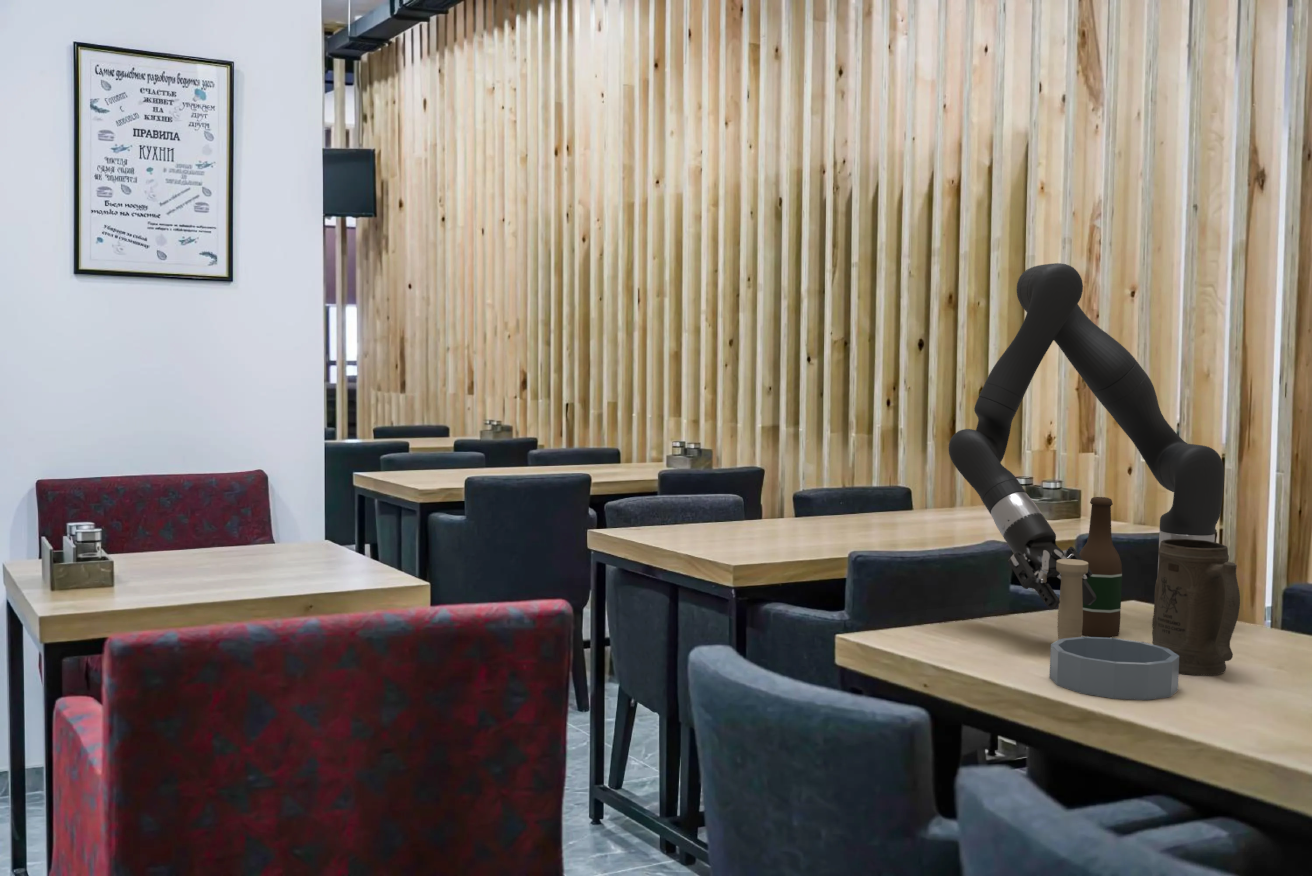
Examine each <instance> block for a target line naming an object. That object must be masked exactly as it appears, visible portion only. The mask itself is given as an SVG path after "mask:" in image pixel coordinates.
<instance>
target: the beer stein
mask: <svg viewBox="0 0 1312 876" xmlns="http://www.w3.org/2000/svg"><path fill="white" fill-rule="evenodd" d="M1157 553H1158V557H1159V568H1158V567H1157V577H1156V580H1155V586H1154V602H1153V603H1154V606H1153V615H1152V620H1151V621H1152V622H1151V624H1152V633H1151V636H1152V642H1151V644H1153V645H1157V646H1160V647H1164V648H1168V649H1170V650H1171V651H1173V652H1174V653H1176V654H1177V655H1179V674H1182V675H1188V676H1190V675H1191V676H1216V675H1221V674H1223V673H1225V672H1226V671H1227V665H1226V662H1229V661H1231V660H1232V659H1233V655H1234V654H1233V651H1232V648H1231V640H1232V637H1233V634H1234V631H1235V629H1236V625H1237V623H1238V618H1239V614H1240V606H1241V595H1240V587H1239V583H1238V578H1237V564H1236V563H1235V562H1232V561H1229V560H1230V556H1229V550H1228V546H1227V545H1224V544H1223V543H1219V542H1210V541H1205V540H1192V539H1167V540H1163V541H1161V543H1160V548H1159V547H1158V552H1157Z"/></svg>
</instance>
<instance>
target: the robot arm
mask: <svg viewBox="0 0 1312 876" xmlns="http://www.w3.org/2000/svg"><path fill="white" fill-rule="evenodd" d="M1083 288H1084V284H1083V280H1082V277H1081V275H1080V272H1078V270H1077V269H1076V268H1074V267H1073V266H1071V265H1070V264H1067V263H1059V262H1057V263H1047V264H1038V265H1035V266H1032V267H1030V268H1028V269H1026V270H1025V271H1023V272H1022V274H1021V275H1020V276H1019V278H1018V281H1017V283H1016V295H1017V299H1018V302H1019V304H1020V306H1021V308H1022V309H1023V310H1024V311H1025V312H1026V315H1025V317H1024V320H1023V322H1022V324H1021V326H1020V327H1019V329H1018V332H1017V333H1016V335H1015V337H1014V339H1013V340H1012V341H1011V343H1010V344H1009V345H1008V347H1007V348H1006V350H1005V351H1004V352H1003V353H1002V355H1001V356H1000V357H999V358H998V360H997V362H996V363H995V364H994V366H993V368H992V369H991V370H990V372H989V375H987V378H986V380H985V382H984V385H983V386H982V389H981V390H980V393H979V395H978V397H977V399H976V402H975V405H974V410H973V411H974V413H975V415H976V417H977V419H978V422H977V425H976V429H971V428H964V429H961V430H958V431H957V432H955V433H954V434H953V435H952V436H951V438H950V440H949V442H948V443H949V444H948V455H949V458H950V460H951V461H952V464H953V465H954V468H956V469H957V471H958V472H959V473H960V474H961V476H962V477H963V478H964V479H965V480H966V481H967V483H968V484H969V485H970V486H971V487H972V488H973V489H974V491H975V492H976V493H977V494H978V497H980V499H981V501H982V503H983V505H984V506H985V508H986V510H987V511H988V513H989V514H990V516H991V518H992V520H993V522H994V524H995V526H996V528H997V529H998V531H999V533H1000V534H1001V536H1002V537H1003V539H1004V540H1005V542H1006V544H1007V545H1008V547H1009V548H1010V550H1011V551H1012V553H1013V554H1012V555H1011V556H1010V557H1009V559H1008V561H1007V562H1008V564H1009V565H1010V567H1011V569H1012V571H1013V573H1014V574H1015V576H1016V577H1017V580H1018V581H1019V583H1020V585H1021V586H1022V588H1023V589H1024V590H1027V589H1030V588H1031V590H1033V591H1035V592H1036V593H1037V594H1038V596H1039V597H1040V599H1041V600H1042V602H1043V603H1044V605H1046V607H1047V608H1048V610H1054V609H1056V608H1057V607H1059V603H1060V600H1059V597H1058V595H1057V594H1056V592H1055V591H1054V590H1053V588H1052V586H1051V585H1050V583H1047V581H1048V580H1047V578H1049V577H1052V578H1058V579H1059V580H1060V581H1061V574H1060V573H1059V572H1058V571H1057V570H1056V563H1057V560H1059V559H1076V560H1083V559H1082V558H1081V557H1080V555H1079V553H1078V551H1077V550H1076V548H1075V547H1073V546H1069V547H1068V548H1067V549H1066V550H1065V549H1064V550H1062V549H1061V548H1060V547H1058V545H1057V543H1056V541H1057V534H1056V532H1055V531H1054V530H1053V528H1052V527H1051V525H1050V524H1049V522H1048V520H1047V519H1046V517H1045V516H1044V514H1043V513H1042V511H1041V509H1040V508H1039V506H1038V505H1037V504H1036V503H1035V502H1034V500H1033V499H1032V498H1031V497H1030V496H1029V494H1027V492H1026V490H1025V489H1024V487H1023V485H1022V484H1021V482H1020V481H1019V479H1017V477H1016V476H1015V474H1013V473H1012V472H1011V471H1010V470H1008V469H1007V467H1005V466H1004V464H1002V461H1003V459H1004V457H1005V455H1006V452H1007V447H1008V442H1009V438H1010V434H1011V429H1012V422H1013V419H1014V418H1015V416H1016V413H1017V412H1018V409H1019V408H1020V405H1021V404H1022V400H1023V398H1024V397H1025V395H1026V392H1027V390H1028V388H1029V387H1030V384H1031V381H1032V380H1033V377H1034V376H1035V374H1036V372H1037V369H1038V368H1039V366H1040V364H1041V362H1042V360H1043V359H1044V357H1045V356H1046V354H1047V351H1048V350H1049V349H1050V347H1051V345H1052V344H1053V342H1055V344H1056V345H1057V346H1058V347H1059V349H1060V350H1061V351H1062V353H1063V354H1064V356H1065V357H1066V358H1067V360H1068V361H1069V363H1070V365H1072V367H1073V368H1074V370H1075V371H1076V372H1077V373H1078V374H1079V376H1080V377H1081V378H1082V380H1083V381H1084V382H1085V384H1086V385H1087V387H1088V389H1090V391H1091V392H1092V394H1093V395H1094V396H1095V398H1096V399H1097V400H1098V401H1099V403H1100V405H1102V406H1103V407H1104V408H1105V410H1106V411H1107V412H1108V413H1109V414H1110V416H1111V417H1112V418H1113V420H1114V421H1115V422H1116V424H1117V425H1118V426H1119V427H1120V428H1121V429H1122V431H1123V432H1124V433H1125V435H1126V436H1127V437H1128V438H1129V439H1130V440H1131V442H1132V443H1133V444H1134V446H1135V447H1136V449H1137V451H1138V452H1139V454H1140V455H1141V457H1142V459H1143V461H1144V462H1145V463H1146V465H1147V467H1148V468H1149V470H1150V472H1151V473H1152V475H1153V477H1154V478H1155V479H1156V481H1157V482H1158V484H1160V486H1162V487H1163V488H1164V489H1166V490H1168V491H1170V492H1172V493H1173V498H1172V499H1173V500H1172V503H1171V504H1172V505H1171V508H1170V509H1169V511H1167V512H1165V513H1163V514H1161V516H1160V518H1159V532H1158V533H1159V534H1158V535H1159V537H1158V549H1159V548H1160V543H1161V541H1163V540H1167V539H1192V540H1205V541H1210V542H1215V539H1216V538H1215V537H1216V528H1217V527H1216V526H1217V524H1218V522H1219V519H1220V518H1221V514H1222V505H1223V494H1224V483H1225V468H1224V463H1223V460H1222V458H1221V455H1220V454H1219V453H1218V452H1217V451H1216V450H1215V449H1214V448H1212V447H1209V446H1207V445H1203V444H1202V445H1200V444H1193V443H1187V442H1186V441H1185V440H1184V439H1183V438H1181V436H1180V435H1178V433H1177V432H1176V430H1175V429H1173V428H1172V426H1171V425H1170V424H1169V423H1168V421H1167V420H1166V418H1165V417H1164V415H1163V413H1162V411H1161V408H1160V406H1159V401H1158V397H1157V393H1156V389H1155V387H1154V384H1153V382H1152V380H1151V379H1150V377H1149V375H1148V374H1147V373H1146V371H1145V370H1144V368H1143V367H1142V366H1141V365H1140V364H1139V362H1138V360H1136V358H1135V357H1134V356H1133V355H1132V354H1131V353H1130V352H1129V350H1128V349H1127V348H1125V347H1124V346H1123V345H1122V344H1121V343H1120V342H1119V341H1118V340H1116V339H1115V338H1114V337H1112V336H1111V335H1110V334H1109V333H1108V332H1106V331H1104V330H1103V329H1102V328H1100V326H1098V325H1096V323H1094V322H1093V321H1092V320H1091V319H1090V318H1089V317H1088V316H1087V314H1085V312H1084V311H1083V309H1082V308H1081V307H1080V305H1079V302H1080V301H1081V299H1082V296H1083V295H1082V294H1083V291H1084V290H1083ZM1215 543H1216V542H1215ZM1158 568H1159V556H1158V562H1157V569H1158ZM1025 575H1026V576H1027V577H1026V576H1025ZM1091 575H1092V572H1091V570H1090V569H1089V568H1088V573H1086V574H1084V575H1083V578H1082V599H1083V602H1084V603H1085V605H1091V604H1092V603H1093V602H1094V601H1095V600H1096V595H1095V593H1094V591H1093V590H1092V588H1091V587H1090V585H1089V584H1088V582H1087V579H1088V578H1089V577H1090V576H1091Z"/></svg>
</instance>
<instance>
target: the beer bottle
mask: <svg viewBox="0 0 1312 876" xmlns="http://www.w3.org/2000/svg"><path fill="white" fill-rule="evenodd" d="M1089 504H1090V505H1091V510H1090V519H1089V528H1088V529H1089V530H1088V536H1087V540H1086V543H1085V544H1084V545H1083V547H1082V548H1081V549H1080V550H1079V553H1078V554H1079V555H1080V557H1081V558H1082V559H1083V561H1086V562H1088V568H1089V569H1090V570H1091V572H1092V575H1091V576H1090V577H1089V578H1088V579H1087V582H1088V584H1089V585H1090V587H1091V588H1092V590H1093V591H1094V593H1095V595H1096V600H1095V601H1094V602H1093V603H1092V604H1091V605H1085V603H1084V602H1083V623H1082V624H1083V626H1082V636H1083V637H1105V638H1116V637H1118V636H1119V635H1120V630H1121V629H1120V628H1121V613H1122V612H1121V611H1122V586H1123V566H1122V561H1121V557H1120V554H1119V553H1118V551H1117V549H1116V548H1115V545H1114V544H1113V538H1112V537H1113V536H1112V513H1111V512H1112V509H1111V508H1112V505H1113V499H1111V498H1110V497H1105V496H1094V497H1091V499H1090V502H1089Z"/></svg>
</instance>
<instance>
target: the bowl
mask: <svg viewBox="0 0 1312 876" xmlns="http://www.w3.org/2000/svg"><path fill="white" fill-rule="evenodd" d="M1179 675H1180V673H1179V655H1177V654H1176V653H1174V652H1173V651H1171V650H1170V649H1168V648H1164V647H1160V646H1157V645H1153V643H1150V642H1149V643H1148V642H1145V641H1139V640H1138V641H1137V640H1132V639H1124V638H1116V637H1111V638H1105V637H1089V636H1082V637H1074V638H1064V639H1059V640H1058V639H1057V640H1056V641H1054V642H1053V643H1050V656H1049V679H1051V680H1052V681H1053V683H1054V684H1055V685H1057V686H1058V687H1062V688H1064V689H1068V690H1070V691H1073V692H1076V693H1080V694H1082V695H1083V694H1084V695H1088V696H1090V695H1091V696H1094V697H1095V696H1097V697H1101V698H1106V699H1107V698H1108V699H1114V700H1115V699H1116V700H1135V701H1136V700H1138V701H1142V700H1143V701H1150V700H1158V699H1164V698H1171V697H1173V696H1174V694H1176V693H1177V692H1178V691H1179Z"/></svg>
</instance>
